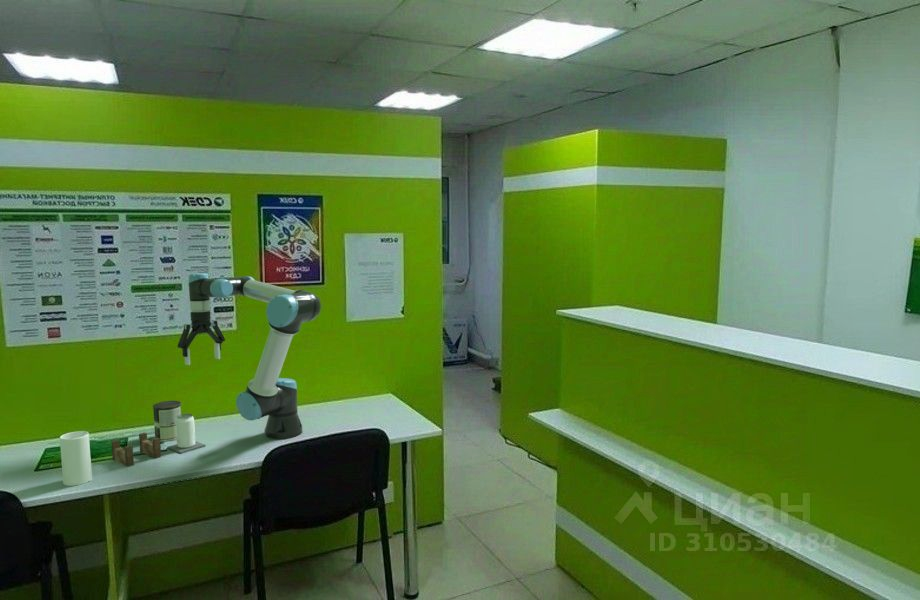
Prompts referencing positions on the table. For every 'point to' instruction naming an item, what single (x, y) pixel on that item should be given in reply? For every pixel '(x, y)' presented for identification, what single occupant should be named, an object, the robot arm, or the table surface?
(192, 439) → the can
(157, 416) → the coffee can
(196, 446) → the pad
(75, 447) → the cup
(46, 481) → the table surface
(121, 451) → the brown cradle stand
